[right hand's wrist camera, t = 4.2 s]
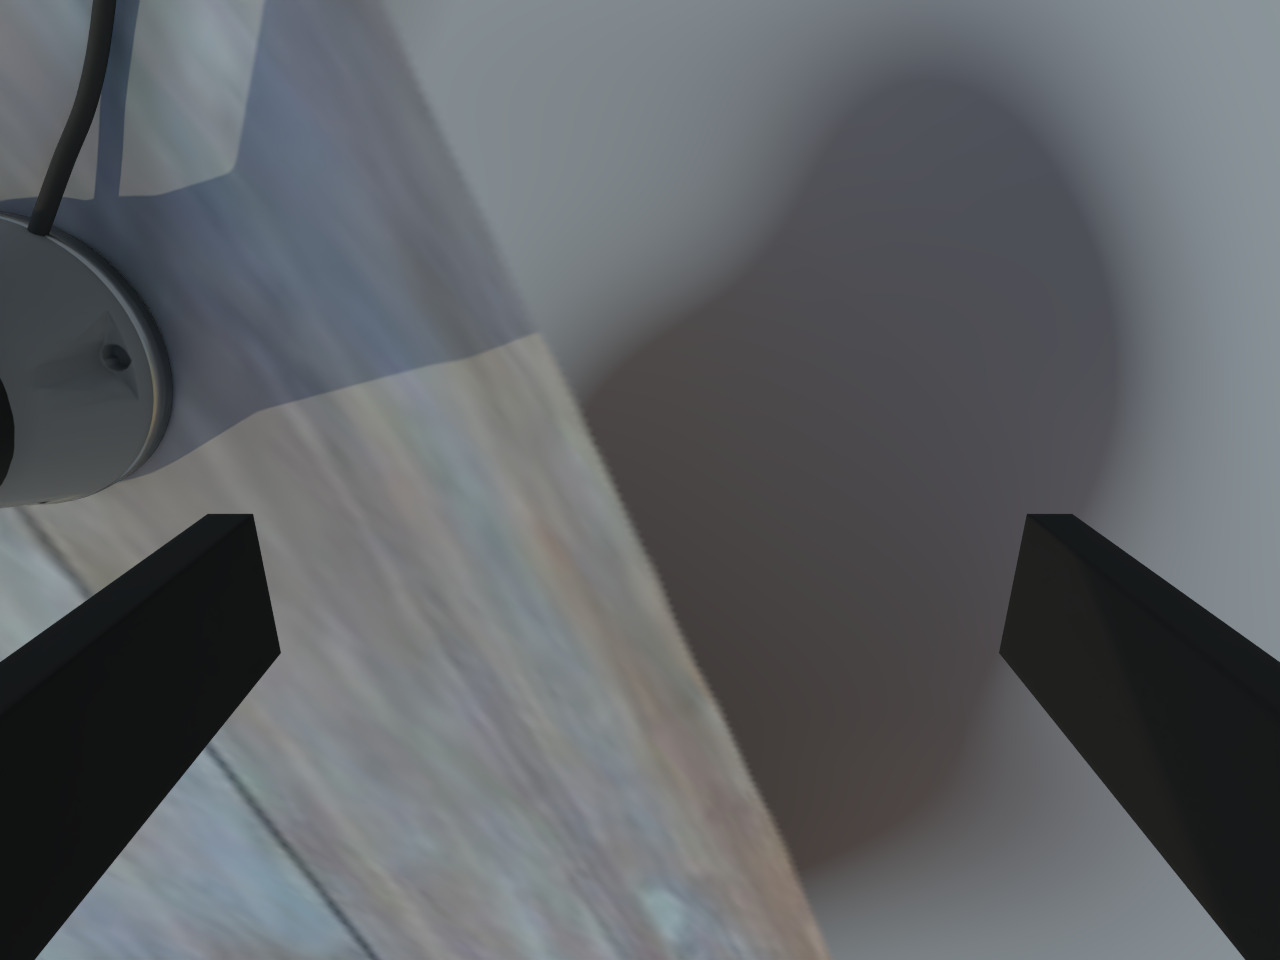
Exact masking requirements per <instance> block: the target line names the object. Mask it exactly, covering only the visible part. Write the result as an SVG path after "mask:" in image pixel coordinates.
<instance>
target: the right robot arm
mask: <svg viewBox="0 0 1280 960" xmlns="http://www.w3.org/2000/svg"><path fill="white" fill-rule="evenodd" d="M115 5H116V0H93V6H92V15H91V23H90V31H89V38H88V44H87V50H86V56H85V61H84V66H83V71H82V76H81V80H80V84H79V88H78V92H77V96H76V99H75V102H74V105H73V108H72V111H71V114H70V116H69V119H68V121H67V124H66V126H65V129H64V131H63V133H62V136H61V138H60V140H59V143H58V145H57V148H56V150H55V153H54V155H53V158H52V160H51V163H50V166H49V169H48V171H47V174H46V177H45V180H44V182H43V185H42V188H41V191H40V194H39V196H38V199H37V202H36V205H35V208H34V211H33V214H32V216H31V218H29V217H25V216H21V215H17V214H13V213H6V212H0V508H6V507H14V506H21V505H37V504H54V503H61V502H66V501H72V500H76V499H80V498H84V497H87V496H90V495H92V494H95V493H97V492H99V491H101V490H103V489H105V488H107V487H109V486H111V485H113V484H115V483H117V482H118V481H120V480H122V479H124V478H126V477H127V476H129V475H130V474H132V473H133V472H135V471H136V470H137V469H138V468H140V467H141V466H142V465H143V464H144V463H145V462H146V461H147V460H148V459H149V457H150V456H151V455H152V454H153V452H154V451H155V449H156V448H157V447H158V445H159V443H160V441H161V439H162V437H163V435H164V433H165V430H166V427H167V425H168V421H169V417H170V413H171V405H172V376H171V370H170V364H169V359H168V356H167V352H166V349H165V345H164V343H163V340H162V338H161V335H160V332H159V330H158V328H157V326H156V324H155V322H154V320H153V318H152V316H151V315H150V313H149V311H148V310H147V308H146V306H145V305H144V303H143V302H142V300H141V299H140V297H139V296H138V295H137V293H136V292H135V291H134V289H133V288H132V287H131V286H130V285H129V283H128V282H127V281H126V280H125V279H124V278H123V277H122V276H121V274H120V273H119V272H118V271H117V270H116V269H115V268H114V267H113V266H112V265H110V264H109V263H108V262H107V261H106V260H105V259H104V258H103V257H101V256H100V255H99V254H97V253H96V252H95V251H94V250H92V249H91V248H90V247H88V246H87V245H85V244H84V243H82V242H81V241H79V240H78V239H76V238H74V237H73V236H71V235H69V234H67V233H65V232H63V231H62V230H60V229H58V228H55V227H53V226H52V224H53V221H54V218H55V216H56V213H57V210H58V207H59V205H60V202H61V199H62V196H63V193H64V191H65V188H66V185H67V182H68V180H69V177H70V174H71V172H72V169H73V166H74V164H75V161H76V159H77V156H78V154H79V152H80V149H81V147H82V145H83V142H84V140H85V138H86V135H87V133H88V130H89V128H90V125H91V123H92V120H93V117H94V114H95V111H96V108H97V105H98V101H99V98H100V94H101V90H102V86H103V81H104V77H105V72H106V67H107V62H108V56H109V51H110V44H111V38H112V30H113V22H114V14H115ZM280 653H281V651H280V646H279V641H278V636H277V631H276V626H275V621H274V616H273V611H272V606H271V601H270V596H269V591H268V586H267V581H266V576H265V571H264V566H263V561H262V556H261V551H260V546H259V541H258V536H257V531H256V526H255V521H254V516H253V514H207V515H206V516H204V517H203V518H202V519H200V520H199V521H197V522H196V523H195V524H193V525H192V526H190V527H189V528H188V529H186V530H185V531H183V532H182V533H181V534H179V535H178V536H176V537H175V538H174V539H172V540H171V541H169V542H168V543H167V544H165V545H164V546H162V547H161V548H160V549H158V550H157V551H155V552H154V553H153V554H151V555H150V556H148V557H147V558H146V559H144V560H143V561H141V562H140V563H139V564H137V565H136V566H134V567H133V568H132V569H130V570H129V571H127V572H126V573H125V574H123V575H122V576H120V577H119V578H118V579H116V580H115V581H113V582H112V583H111V584H109V585H108V586H106V587H105V588H104V589H102V590H101V591H99V592H98V593H97V594H95V595H94V596H92V597H91V598H90V599H88V600H87V601H85V602H84V603H83V604H81V605H80V606H78V607H77V608H76V609H74V610H73V611H71V612H70V613H69V614H67V615H66V616H64V617H63V618H62V619H60V620H59V621H57V622H56V623H55V624H53V625H52V626H50V627H49V628H47V629H46V630H45V631H43V632H42V633H40V634H39V635H38V636H36V637H35V638H33V639H32V640H31V641H29V642H28V643H26V644H25V645H24V646H22V647H21V648H19V649H18V650H17V651H15V652H14V653H12V654H11V655H10V656H8V657H7V658H5V659H4V660H3V661H1V662H0V960H35V959H36V957H37V956H38V955H39V954H40V952H41V951H42V950H43V949H44V947H45V946H46V945H47V944H48V942H49V941H50V940H51V939H52V937H53V936H54V935H55V934H56V932H57V931H58V930H59V929H60V927H61V926H62V925H63V924H64V922H65V921H66V920H67V919H68V917H69V916H70V915H71V914H72V912H73V911H74V910H75V909H76V907H77V906H78V905H79V904H80V903H81V901H82V900H83V899H84V898H85V896H86V895H87V894H88V893H89V891H90V890H91V889H92V888H93V886H94V885H95V884H96V883H97V881H98V880H99V879H100V878H101V876H102V875H103V874H104V873H105V871H106V870H107V869H108V868H109V866H110V865H111V864H112V863H113V861H114V860H115V859H116V858H117V856H118V855H119V854H120V853H121V851H122V850H123V849H124V848H125V846H126V845H127V844H128V843H129V841H130V840H131V839H132V838H133V836H134V835H135V834H136V833H137V831H138V830H139V829H140V828H141V827H142V825H143V824H144V823H145V822H146V820H147V819H148V818H149V817H150V815H151V814H152V813H153V812H154V810H155V809H156V808H157V807H158V805H159V804H160V803H161V802H162V800H163V799H164V798H165V797H166V795H167V794H168V793H169V792H170V790H171V789H172V788H173V787H174V785H175V784H176V783H177V782H178V780H179V779H180V778H181V777H182V775H183V774H184V773H185V772H186V770H187V769H188V768H189V767H190V765H191V764H192V763H193V762H194V760H195V759H196V758H197V757H198V755H199V754H200V753H201V752H202V751H203V749H204V748H205V747H206V746H207V744H208V743H209V742H210V741H211V739H212V738H213V737H214V736H215V734H216V733H217V732H218V731H219V729H220V728H221V727H222V726H223V724H224V723H225V722H226V721H227V719H228V718H229V717H230V716H231V714H232V713H233V712H234V711H235V709H236V708H237V707H238V706H239V704H240V703H241V702H242V701H243V699H244V698H245V697H246V696H247V694H248V693H249V692H250V691H251V689H252V688H253V687H254V686H255V684H256V683H257V682H258V681H259V679H260V678H261V677H262V676H263V675H264V673H265V672H266V671H267V670H268V668H269V667H270V666H271V665H272V663H273V662H274V661H275V660H276V658H277V657H278V656H279V655H280ZM999 653H1000V655H1001V656H1002V657H1003V658H1004V660H1005V661H1006V662H1007V663H1008V665H1009V666H1010V667H1011V668H1012V670H1013V671H1014V672H1015V673H1016V675H1017V676H1018V677H1019V678H1020V679H1021V681H1022V682H1023V683H1024V684H1025V686H1026V687H1027V688H1028V689H1029V691H1030V692H1031V693H1032V694H1033V696H1034V697H1035V698H1036V699H1037V701H1038V702H1039V703H1040V704H1041V706H1042V707H1043V708H1044V709H1045V711H1046V712H1047V713H1048V714H1049V716H1050V717H1051V718H1052V719H1053V721H1054V722H1055V723H1056V724H1057V725H1058V727H1059V728H1060V729H1061V731H1062V732H1063V733H1064V734H1065V736H1066V737H1067V738H1068V739H1069V741H1070V742H1071V743H1072V744H1073V745H1074V747H1075V748H1076V749H1077V751H1078V752H1079V753H1080V754H1081V755H1082V757H1083V758H1084V759H1085V760H1086V762H1087V763H1088V764H1089V765H1090V767H1091V768H1092V769H1093V770H1094V772H1095V773H1096V774H1097V775H1098V777H1099V778H1100V779H1101V780H1102V782H1103V783H1104V784H1105V785H1106V787H1107V788H1108V789H1109V790H1110V792H1111V793H1112V794H1113V795H1114V797H1115V798H1116V799H1117V800H1118V802H1119V803H1120V804H1121V805H1122V807H1123V808H1124V809H1125V810H1126V812H1127V813H1128V814H1129V815H1130V817H1131V818H1132V819H1133V820H1134V821H1135V823H1136V824H1137V825H1138V827H1139V828H1140V829H1141V830H1142V831H1143V833H1144V834H1145V835H1146V836H1147V838H1148V839H1149V840H1150V841H1151V843H1152V844H1153V845H1154V846H1155V848H1156V849H1157V850H1158V851H1159V853H1160V854H1161V855H1162V856H1163V858H1164V859H1165V860H1166V861H1167V863H1168V864H1169V865H1170V866H1171V868H1172V869H1173V870H1174V871H1175V873H1176V874H1177V875H1178V876H1179V878H1180V879H1181V880H1182V881H1183V883H1184V884H1185V885H1186V886H1187V888H1188V889H1189V890H1190V891H1191V893H1192V894H1193V895H1194V896H1195V897H1196V899H1197V900H1198V901H1199V903H1200V904H1201V905H1202V906H1203V907H1204V909H1205V910H1206V911H1207V912H1208V914H1209V915H1210V916H1211V917H1212V919H1213V920H1214V921H1215V922H1216V924H1217V925H1218V926H1219V927H1220V929H1221V930H1222V931H1223V932H1224V934H1225V935H1226V936H1227V937H1228V939H1229V940H1230V941H1231V942H1232V944H1233V945H1234V946H1235V947H1236V949H1237V950H1238V951H1239V952H1240V954H1241V955H1242V956H1243V957H1244V959H1245V960H1280V662H1279V661H1277V660H1276V659H1275V658H1273V657H1272V656H1270V655H1269V654H1267V653H1266V652H1265V651H1263V650H1262V649H1261V648H1259V647H1258V646H1256V645H1255V644H1254V643H1252V642H1251V641H1249V640H1248V639H1246V638H1245V637H1244V636H1242V635H1241V634H1240V633H1238V632H1237V631H1235V630H1234V629H1232V628H1231V627H1230V626H1228V625H1227V624H1225V623H1224V622H1223V621H1221V620H1220V619H1218V618H1217V617H1216V616H1214V615H1213V614H1211V613H1210V612H1209V611H1207V610H1206V609H1204V608H1203V607H1202V606H1200V605H1199V604H1197V603H1196V602H1195V601H1193V600H1192V599H1190V598H1189V597H1188V596H1186V595H1185V594H1183V593H1182V592H1181V591H1179V590H1178V589H1176V588H1175V587H1174V586H1172V585H1171V584H1169V583H1168V582H1167V581H1165V580H1164V579H1162V578H1161V577H1160V576H1158V575H1157V574H1155V573H1154V572H1153V571H1151V570H1150V569H1148V568H1147V567H1146V566H1144V565H1143V564H1141V563H1140V562H1139V561H1137V560H1136V559H1134V558H1133V557H1132V556H1130V555H1129V554H1127V553H1126V552H1125V551H1123V550H1122V549H1120V548H1119V547H1118V546H1116V545H1115V544H1113V543H1112V542H1111V541H1109V540H1108V539H1106V538H1105V537H1104V536H1102V535H1101V534H1099V533H1098V532H1097V531H1095V530H1094V529H1092V528H1091V527H1090V526H1088V525H1087V524H1085V523H1084V522H1083V521H1081V520H1080V519H1078V518H1077V517H1076V516H1074V515H1073V514H1027V517H1026V521H1025V526H1024V531H1023V536H1022V542H1021V546H1020V551H1019V556H1018V561H1017V567H1016V571H1015V576H1014V581H1013V586H1012V591H1011V596H1010V601H1009V606H1008V611H1007V616H1006V622H1005V626H1004V631H1003V636H1002V641H1001V646H1000V651H999Z"/></svg>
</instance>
